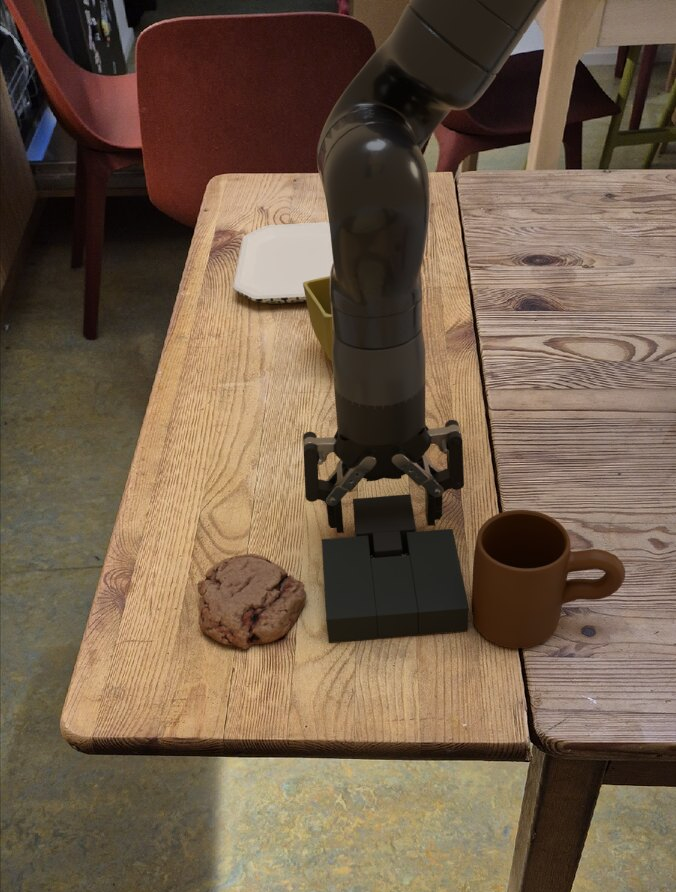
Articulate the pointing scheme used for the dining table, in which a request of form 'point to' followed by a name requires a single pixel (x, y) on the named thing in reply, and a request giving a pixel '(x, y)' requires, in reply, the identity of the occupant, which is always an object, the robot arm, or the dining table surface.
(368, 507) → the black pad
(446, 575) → the base pad
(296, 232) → the plate
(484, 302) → the dining table surface
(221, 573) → the cookie
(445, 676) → the dining table surface
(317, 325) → the flower pot
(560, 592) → the mug
